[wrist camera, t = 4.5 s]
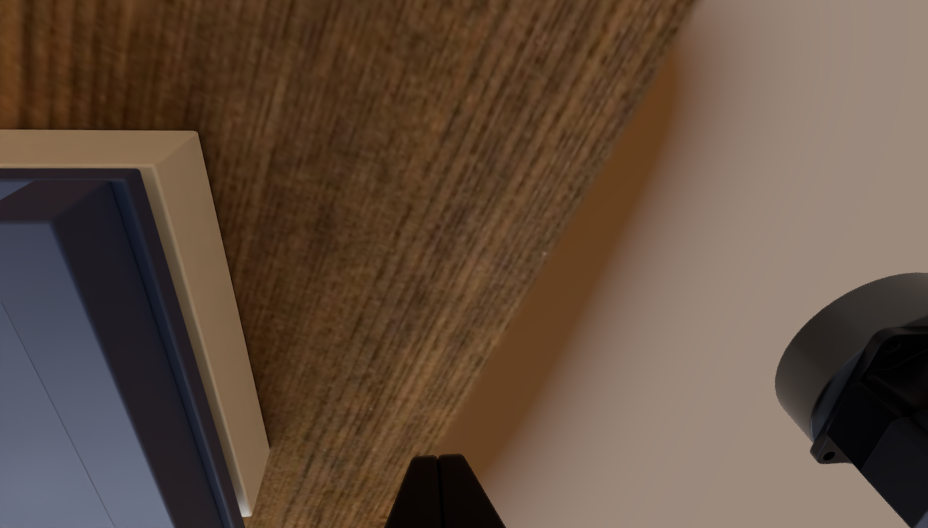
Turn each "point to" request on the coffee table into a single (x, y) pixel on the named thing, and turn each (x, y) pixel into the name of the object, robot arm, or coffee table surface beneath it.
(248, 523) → the coffee table surface
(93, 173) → the cover
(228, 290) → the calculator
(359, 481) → the coffee table surface
